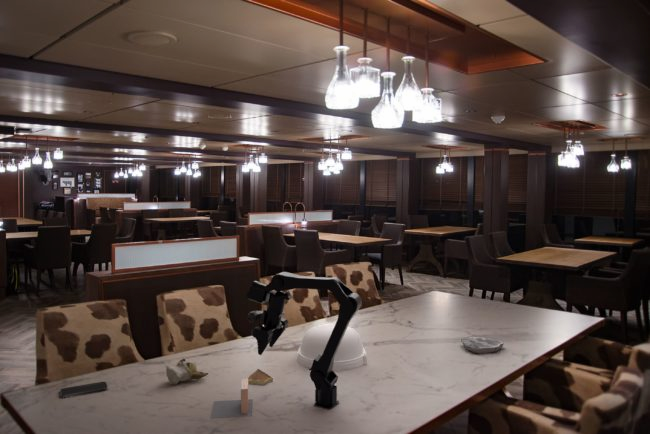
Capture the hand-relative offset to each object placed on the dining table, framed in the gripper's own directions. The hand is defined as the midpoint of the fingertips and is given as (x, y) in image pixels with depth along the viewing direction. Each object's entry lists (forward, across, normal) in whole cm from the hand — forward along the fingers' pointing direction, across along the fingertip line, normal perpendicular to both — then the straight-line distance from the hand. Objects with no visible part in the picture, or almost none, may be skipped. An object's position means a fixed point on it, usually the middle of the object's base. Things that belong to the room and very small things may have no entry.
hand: (265, 350), depth 174 cm
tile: (+16, +11, +2) cm, 20 cm away
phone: (+32, +15, -58) cm, 68 cm away
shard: (+19, -13, -5) cm, 23 cm away
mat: (+17, +13, -2) cm, 22 cm away
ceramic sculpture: (+24, -4, -30) cm, 39 cm away
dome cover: (+14, -46, +14) cm, 50 cm away
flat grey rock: (-1, -80, +73) cm, 109 cm away
